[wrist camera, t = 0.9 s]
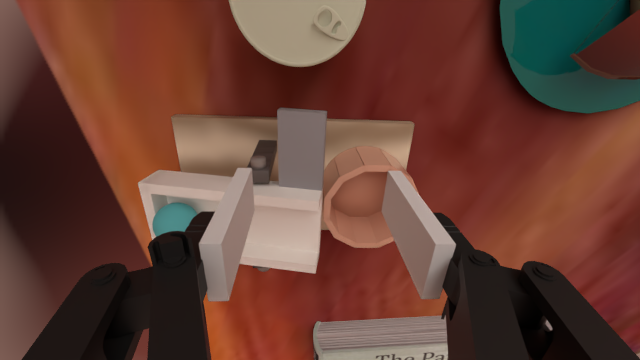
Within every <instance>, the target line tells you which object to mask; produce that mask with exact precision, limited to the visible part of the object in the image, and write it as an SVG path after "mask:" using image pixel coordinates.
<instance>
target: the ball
mask: <svg viewBox="0 0 640 360" xmlns="http://www.w3.org/2000/svg"><path fill="white" fill-rule="evenodd" d="M196 215H197V212H196V211H195V210H194V209H193V208H192V207H191V206H189V205H187V204H185V203H179V202H176V203H170V204H167V205H165V206H163V207H162V208H161V209H159V210H158V212H157V213H156V214H155V216H154V219H153V223H152V228H153V232H154V234H155V236H156V237H157V236H159V235H161V234H163V233H167V232H170V231H184V232H185V230H186V228H187V227H188V226H189V223H190V222H191V220H192V219H193V217H195V216H196Z"/></svg>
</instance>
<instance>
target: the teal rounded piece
mask: <svg viewBox="0 0 640 360" xmlns="http://www.w3.org/2000/svg"><path fill="white" fill-rule="evenodd" d="M500 19H501V31H502V44H503V47H504V49H505V52H506V55H507V58H508V60H509V63H510V66H511V68H512V70H513V72H514V74H515V75H516V77H517V79H518V80H519V82H520V84H521V85H522V86H523V87H524V88H525V89H526V90H527V91H528V93H529V94H531V95H532V96H533V97H534V98H535V99H537V100H538V101H540V102H542V103H544V104H546V105H548V106H550V107H553V108H557V109H560V110H563V111H570V112H580V113H594V112H600V111H606V110H612V109H618V108H621V107H624V106H626V105H629V104H632V103H635V102H637V101H640V0H501V1H500Z"/></svg>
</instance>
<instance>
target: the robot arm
mask: <svg viewBox="0 0 640 360" xmlns="http://www.w3.org/2000/svg"><path fill="white" fill-rule="evenodd" d="M254 211H255V209H254V193H253V178H252V168H237V170H236V172H235V174H234V176H233V178H232V180H231V182H230V184H229V186H228V188H227V190H226V192H225V194H224V196H223V198H222V200H221V201H220V203H219V205H218V207H217V209H216V211H201V212H200V213H199V214H197V215H196V216H195V217H193V219H192V220H191V222H190V223H189V226H188V227H187V228H186V230H185V232H184V231H170V232H167V233H163V234H161V235H159V236H157V237H155V238H154V239H153V240H152V241H151V242H150V243H149V246H148V249H149V253H150V257H151V260H152V264H153V266H152V267H149V268H146V269H141V270H137V271H132V272H128V271H127V269H126V267H125V265H122V264H120V263H110V264H105V265H101V266H99V267H96V268H94V269H92V270H91V271H89V272H87V273H86V274H85V275H84V276H83V277H82V278H81V279H80V280H79V282H77V284H76V285H75V287H74V288H73V289H72V291H71V292H70V294H69V295H68V296H67V298H66V299H65V301H64V302H63V303H62V305H61V306H60V307H59V309H58V310H57V312H56V313H55V314H54V316H53V317H52V319H51V320H50V321H49V323H48V324H47V326H46V327H45V328H44V330H43V331H42V332H41V334H40V335H39V337H38V338H37V339H36V341H35V342H34V343H33V345H32V346H31V347H30V349H29V350H28V352H27V353H26V354H25V356H24V357H23V359H22V360H132V358H133V355H134V353H135V350H136V347H137V345H138V342H139V340H140V337H141V334H142V332H143V330H144V329H148V328H149V342H148V359H147V360H211V354H210V346H209V339H208V332H207V324H206V317H205V309H204V304H203V300H204V297H205V295H206V292H207V295H208V301H229V298H230V295H231V291H232V288H233V284H234V281H235V277H236V274H237V270H238V267H239V263H240V260H241V256H242V253H243V249H244V246H245V242H246V239H247V235H248V232H249V228H250V225H251V221H252V218H253V214H254ZM381 212H382V214H383V216H384V218H385V221H386V223H387V225H388V227H389V229H390V232H391V234H392V236H393V238H394V240H395V243H396V245H397V247H398V249H399V251H400V254H401V256H402V258H403V260H404V262H405V265H406V267H407V269H408V271H409V273H410V276H411V278H412V280H413V282H414V284H415V287H416V289H417V291H418V293H419V295H420V298H421V299H440V295H441V292H442V289H444V290H445V292H446V294H447V296H448V297H447V301H446V304H445V307H444V310H443V313H442V316H441V319H443V320H444V318H445V315H446V327H447V345H448V360H640V359H639V357H638V356H637V355H636V354H635V353H634V352H633V351H632V350H631V349H630V348H629V347H628V345H627V344H626V343H625V342H624V341H623V340H622V339H621V338H620V337H619V336H618V334H617V333H616V332H615V331H614V330H613V329H612V328H611V327H610V326H609V325H608V323H607V322H606V321H605V320H604V319H603V318H602V317H601V316H600V315H599V314H598V313H597V311H596V310H595V309H594V308H593V307H592V306H591V305H590V304H589V303H588V302H587V300H586V299H585V298H584V297H583V296H582V295H581V294H580V293H579V292H578V291H577V290H576V288H575V287H574V286H573V285H572V284H571V283H570V282H569V281H568V280H567V279H566V277H565V276H564V275H562V274H561V273H560V272H559V271H558V270H556V269H554V268H553V267H551V266H549V265H547V264H544V263H540V262H535V261H528V262H526V263H524V264H523V266H522V269H521V270H517V269H512V268H507V267H503V266H500V264H499V263H498V261H497V260H496V259H495V258H494V257H493V256H491V255H489V254H487V253H486V252H483V251H480V250H475V249H474V248H473V246H472V245H471V244H470V243H469V242H468V240H467V239H466V238H465V237H464V235H463V234H462V233H460V231H459V229H458V228H457V227H455V225H454V223H453V222H452V221H451V220H450V219H449V218H448V217H446V216H445V215H443V214H442V213H432V211H431V210H430V209H429V207H428V206H427V205H426V203H425V202H424V201H423V199H422V198H421V197H420V195H419V194H418V193H417V191H416V190H415V189H414V187H413V186H412V185H411V183H410V182H409V181H408V179H407V178H406V177H405V175H404V174H403V173H402V171H388V173H387V180H386V186H385V192H384V199H383V205H382V211H381ZM547 320H548V322H549V323H550V325H551V327H552V330H550V329H549V328H548V327H547V325H546V324H545V323H546V321H547Z"/></svg>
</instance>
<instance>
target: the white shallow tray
mask: <svg viewBox="0 0 640 360" xmlns="http://www.w3.org/2000/svg"><path fill="white" fill-rule="evenodd" d="M277 123H278V171H279V181H269V183H253V193H254V209H255V211H254V214H253V218H252V221H251V225H250V228H249V232H248V235H247V239H246V242H245V246H244V249H243V253H242V256H241V260H240V263H239V264H245V265H253V266H260V267H268V268H276V269H284V270H291V271H299V272H307V273H316V268H317V264H318V259H319V254H320V236H321V218H322V199H323V181H324V162H325V144H326V125H327V111H321V110H307V109H294V108H279V109H278V110H277ZM232 178H233V177H228V176H218V175H208V174H197V173H187V172H177V171H167V170H157V171H156V172H154V173H153V174H151V175H149V176H148V177H146V178H145V179H143V180H141V181H140V182H138V186H139V190H140V194H141V197H142V201H143V205H144V209H145V213H146V217H147V221H148V225H149V229H150V233H151V236H152V240H153V239H154V238H155V237H156V236H155V234H154V232H153V228H152V223H153V219H154V216H155V214H156V213H157V212H158V210H159V209H161V208H162V207H163V206H165V205H167V204H170V203H176V202H179V203H185V204H187V205H189V206H191V207H192V208H193V209H194V210H195V211H196V212H197V214H199V213H200V212H201V211H216V209H217V207H218V205H219V203H220V201H221V200H222V198H223V196H224V194H225V192H226V190H227V188H228V186H229V184H230V182H231V180H232Z"/></svg>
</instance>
